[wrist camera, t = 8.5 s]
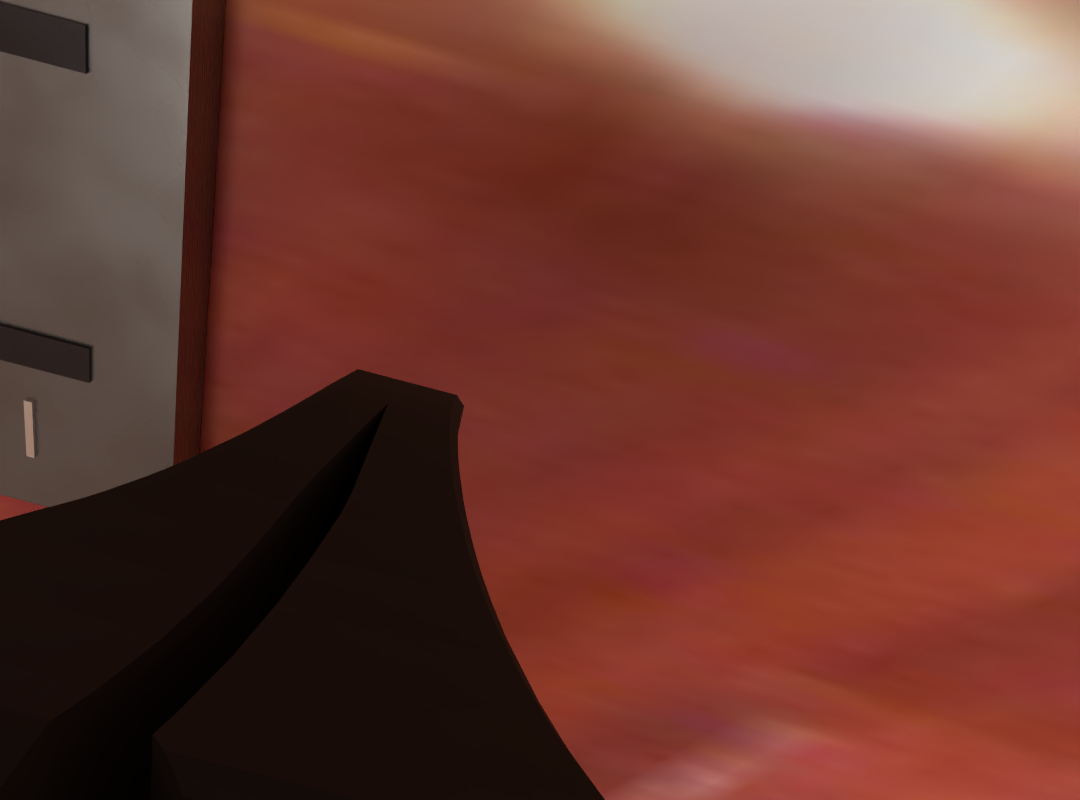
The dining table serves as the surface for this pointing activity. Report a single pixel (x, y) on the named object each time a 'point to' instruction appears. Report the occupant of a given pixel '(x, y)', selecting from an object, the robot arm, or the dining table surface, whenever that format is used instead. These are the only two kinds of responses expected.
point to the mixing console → (104, 238)
